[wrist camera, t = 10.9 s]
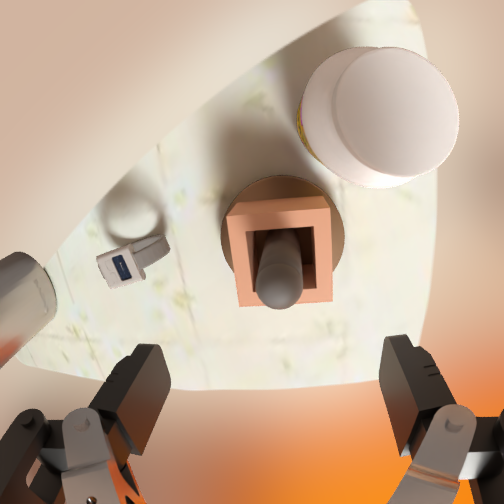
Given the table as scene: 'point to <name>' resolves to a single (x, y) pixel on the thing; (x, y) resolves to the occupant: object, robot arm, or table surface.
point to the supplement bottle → (378, 116)
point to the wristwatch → (131, 260)
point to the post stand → (283, 241)
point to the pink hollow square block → (277, 217)
